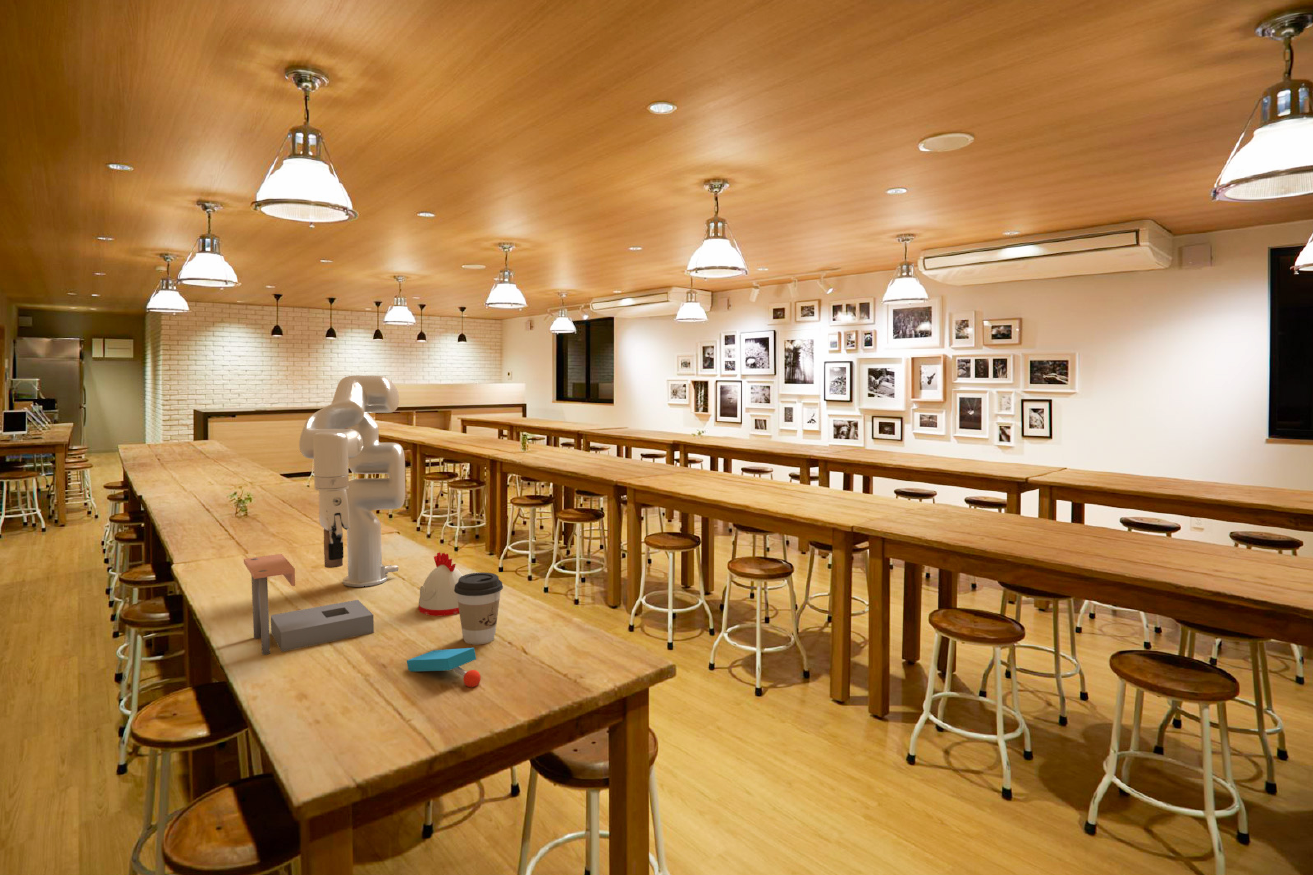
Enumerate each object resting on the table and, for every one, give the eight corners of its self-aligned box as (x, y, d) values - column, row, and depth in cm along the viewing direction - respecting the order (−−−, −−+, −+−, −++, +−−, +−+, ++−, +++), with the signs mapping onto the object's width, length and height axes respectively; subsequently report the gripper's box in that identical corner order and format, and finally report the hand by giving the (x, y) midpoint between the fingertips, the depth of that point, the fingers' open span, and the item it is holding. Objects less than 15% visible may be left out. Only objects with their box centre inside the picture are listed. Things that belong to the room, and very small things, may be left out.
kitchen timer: (450, 596, 195) (449, 544, 194) (482, 605, 187) (481, 552, 186) (408, 609, 184) (406, 554, 183) (440, 619, 176) (439, 563, 175)
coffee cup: (478, 652, 155) (477, 587, 154) (444, 641, 161) (443, 579, 160) (513, 636, 165) (513, 576, 164) (480, 627, 171) (479, 568, 170)
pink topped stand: (284, 629, 168) (281, 553, 166) (297, 650, 155) (294, 568, 154) (246, 636, 163) (243, 558, 161) (257, 658, 150) (253, 574, 149)
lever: (412, 693, 145) (465, 693, 135) (406, 660, 146) (458, 657, 135) (439, 681, 151) (492, 680, 140) (433, 650, 151) (485, 647, 141)
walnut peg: (340, 562, 169) (339, 526, 168) (344, 566, 166) (343, 529, 165) (322, 565, 166) (321, 528, 166) (326, 568, 163) (325, 531, 163)
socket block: (358, 616, 177) (357, 599, 177) (373, 632, 166) (373, 614, 166) (271, 633, 165) (270, 615, 165) (281, 651, 154) (281, 632, 154)
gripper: (357, 485, 160) (359, 562, 162) (339, 477, 173) (341, 548, 175) (322, 488, 156) (325, 567, 157) (307, 479, 169) (309, 552, 170)
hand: (333, 556), depth 166 cm, fingers closed on walnut peg, 4 cm apart
